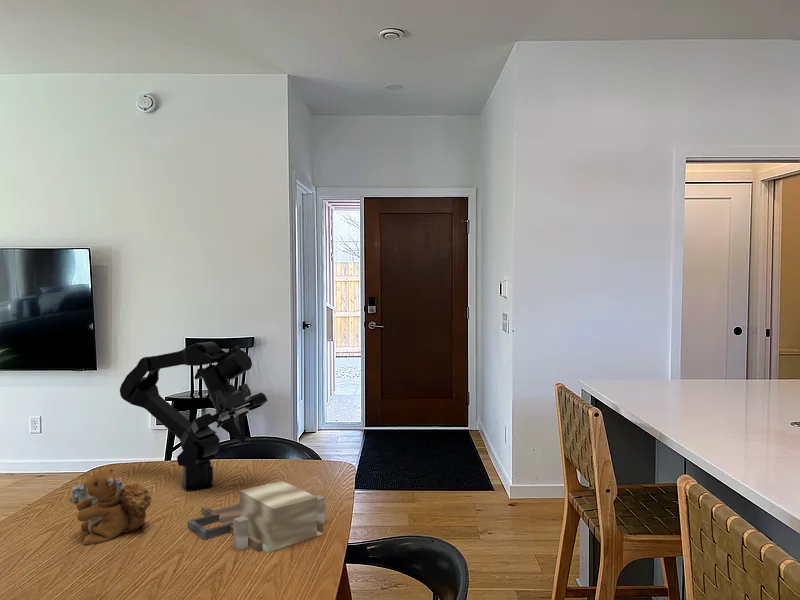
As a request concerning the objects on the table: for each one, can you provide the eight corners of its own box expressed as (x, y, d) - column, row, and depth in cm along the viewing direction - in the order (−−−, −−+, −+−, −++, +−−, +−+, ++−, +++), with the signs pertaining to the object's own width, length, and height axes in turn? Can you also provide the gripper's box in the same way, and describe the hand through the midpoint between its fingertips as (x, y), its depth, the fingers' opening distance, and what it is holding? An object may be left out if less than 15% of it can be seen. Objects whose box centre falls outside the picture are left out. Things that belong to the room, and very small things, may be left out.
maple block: (239, 528, 119) (239, 490, 119) (281, 516, 126) (281, 480, 126) (273, 550, 109) (273, 509, 109) (317, 536, 116) (317, 497, 116)
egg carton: (80, 508, 132) (80, 490, 132) (68, 500, 137) (68, 483, 137) (126, 496, 140) (126, 479, 140) (113, 489, 145) (113, 473, 145)
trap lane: (176, 521, 124) (176, 494, 124) (280, 494, 141) (281, 470, 141) (234, 566, 104) (235, 533, 103) (348, 527, 121) (348, 499, 121)
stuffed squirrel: (78, 529, 120) (78, 466, 120) (151, 518, 126) (151, 459, 126) (73, 548, 111) (73, 480, 111) (152, 535, 117) (152, 471, 117)
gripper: (190, 391, 133) (216, 453, 130) (261, 365, 144) (286, 421, 141) (181, 404, 141) (205, 462, 139) (248, 378, 153) (272, 431, 150)
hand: (243, 443), depth 142 cm, fingers closed
